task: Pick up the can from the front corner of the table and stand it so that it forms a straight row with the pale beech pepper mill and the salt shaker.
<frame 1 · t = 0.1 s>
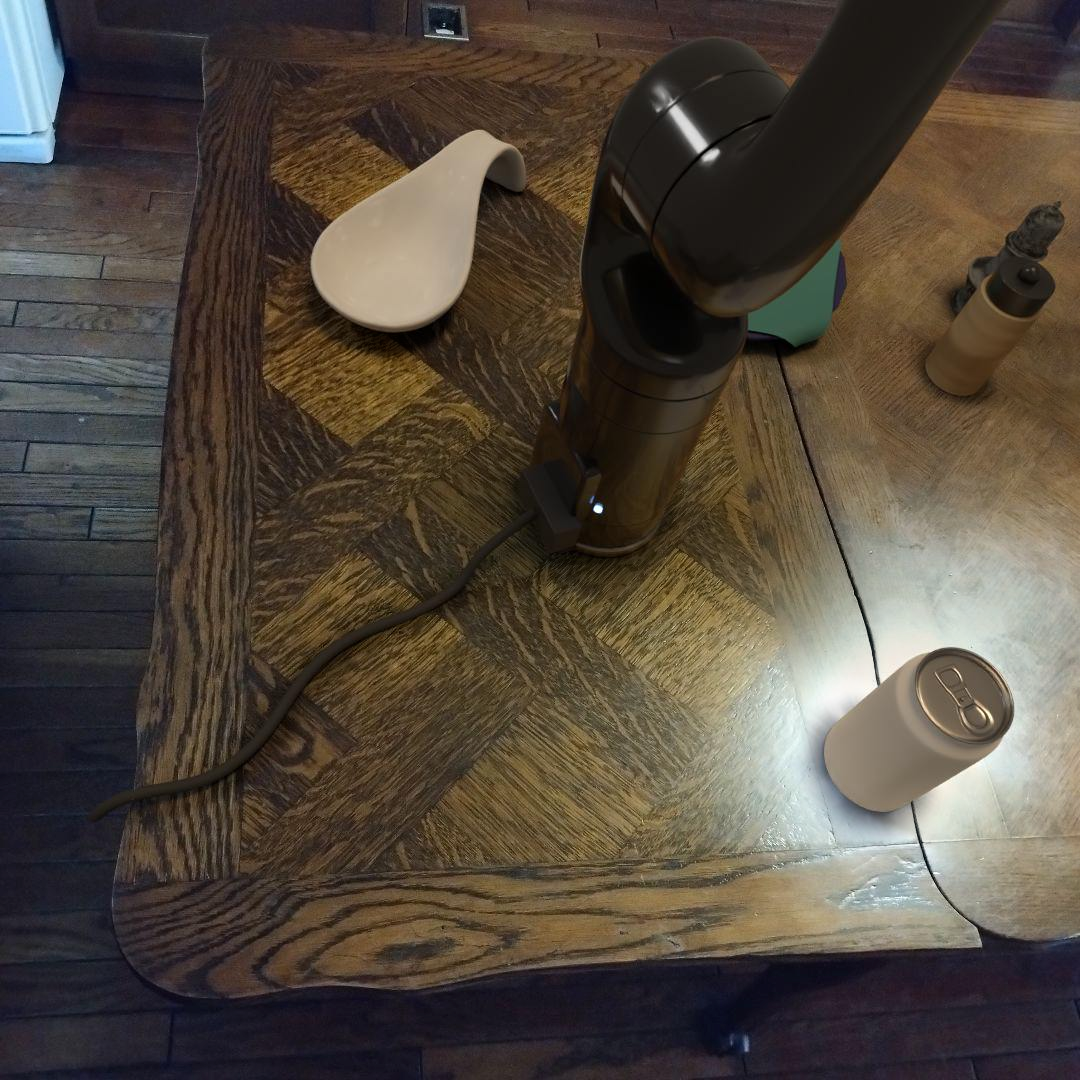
can: (867, 764, 64), on the table
spoon rest: (429, 257, 81), on the table
salt shaker: (978, 310, 88), on the table
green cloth: (736, 230, 88), on the table
pepper mill: (953, 373, 83), on the table
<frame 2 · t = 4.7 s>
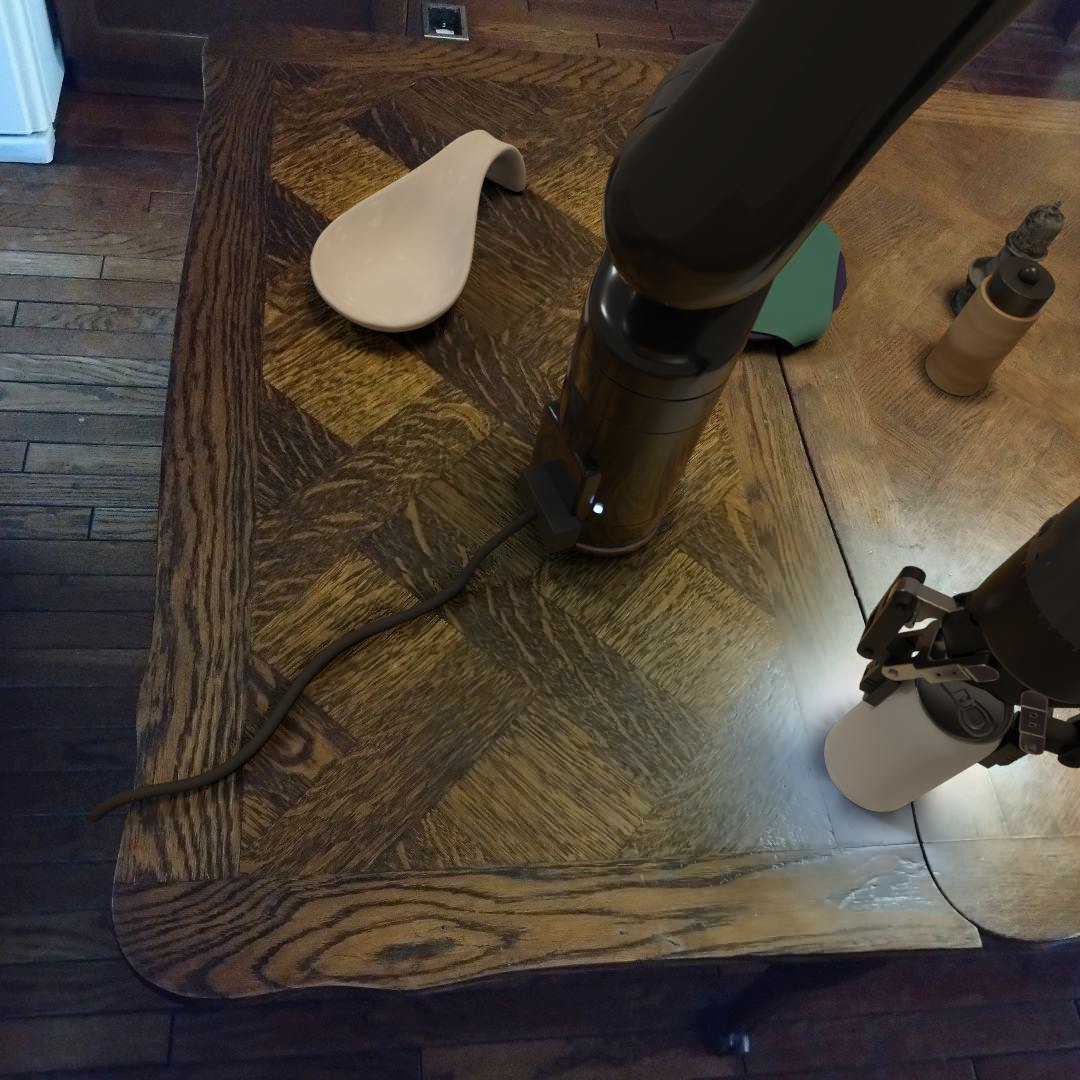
hand: (928, 720, 57), 8 cm above the table, tool pointing down, fingers closed on can, 6 cm apart
can: (867, 764, 64), on the table, touching gripper
everything else where it was.
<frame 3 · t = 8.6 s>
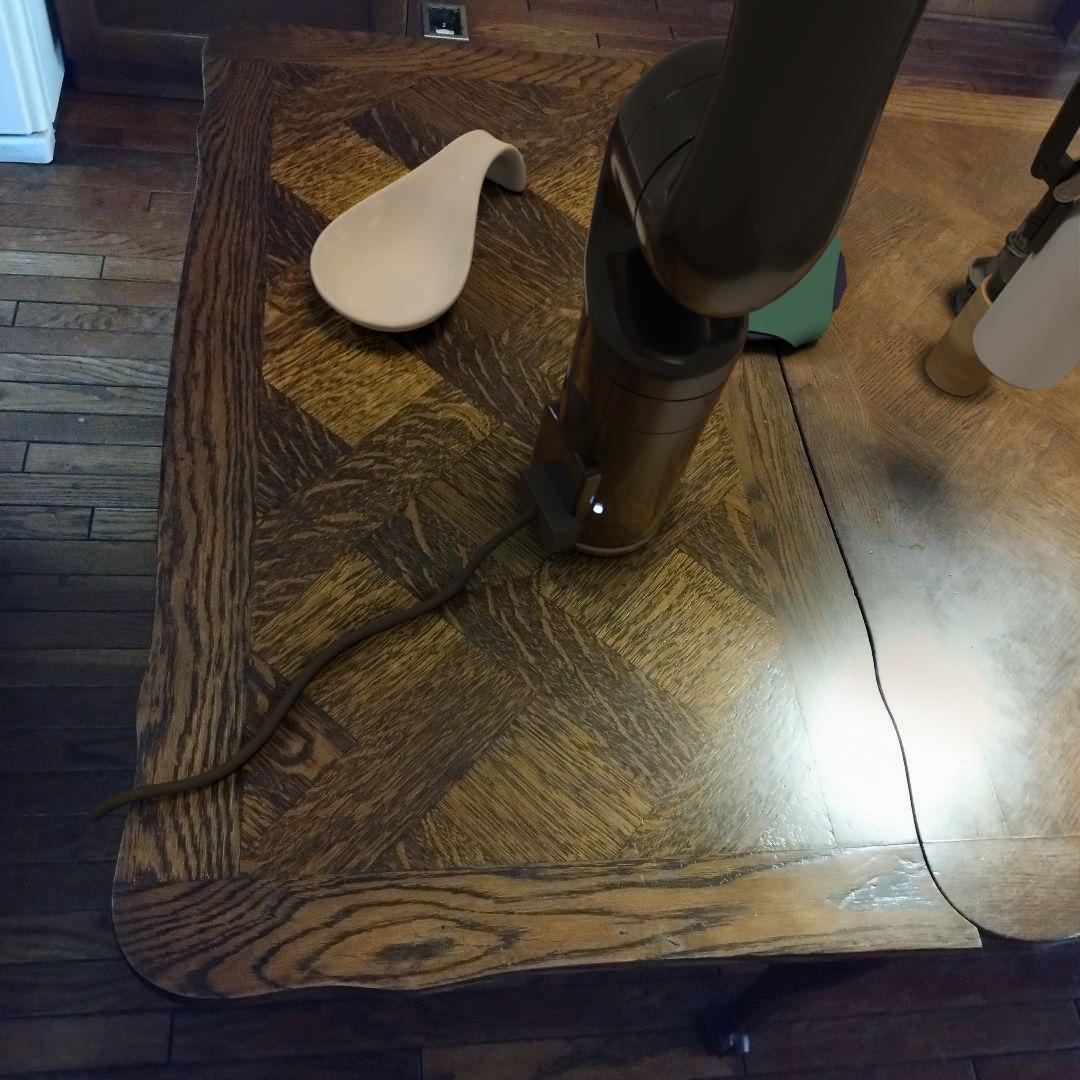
can: (1013, 358, 66), point 13 cm above the table, touching gripper
everything else where it was.
when the fingers open (8 cm above the table, at t = 12.3 s): can stays where it is, on the table.
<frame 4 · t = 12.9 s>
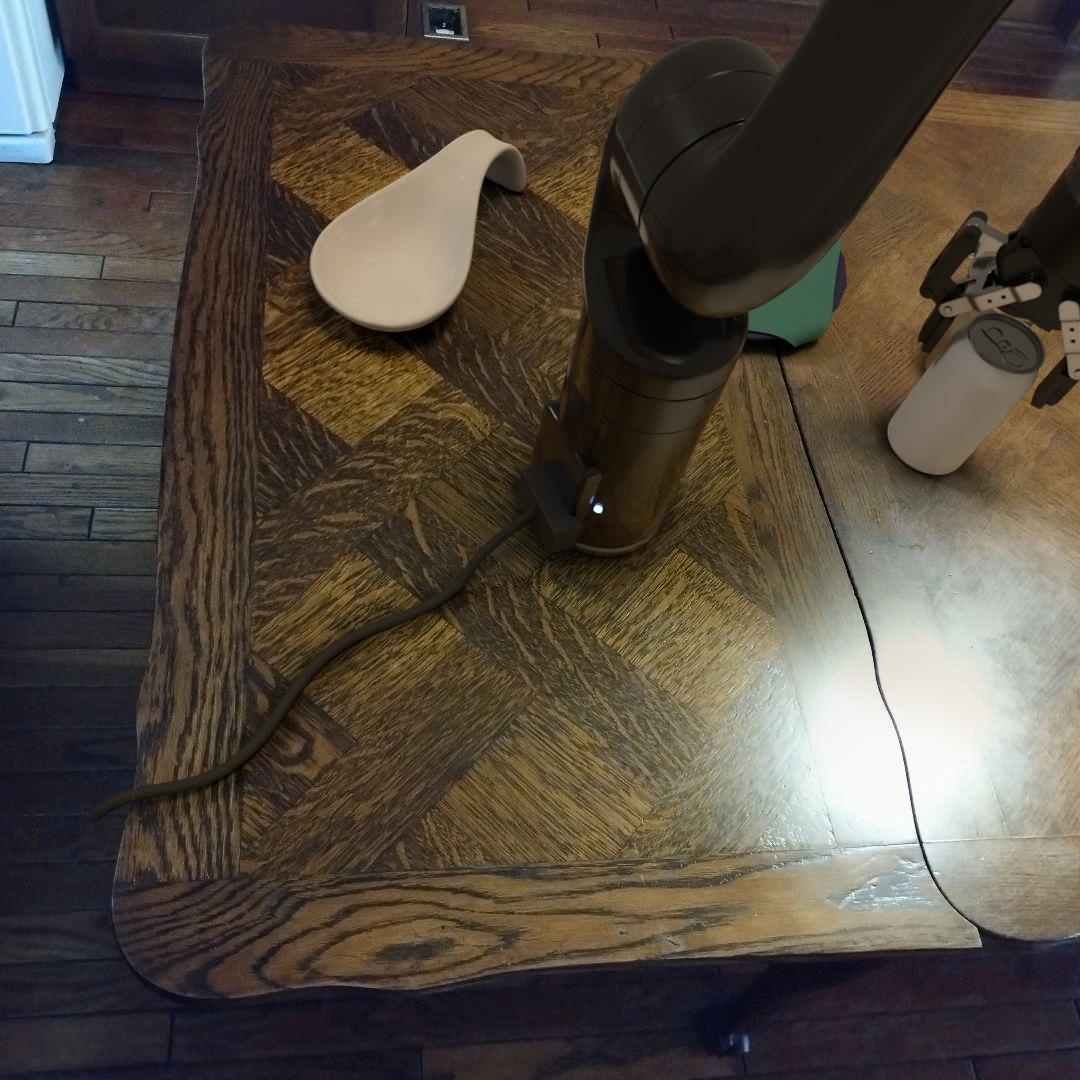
hand: (981, 372, 71), 9 cm above the table, tool pointing down, fingers open, 8 cm apart
can: (922, 445, 79), on the table
everything else where it was.
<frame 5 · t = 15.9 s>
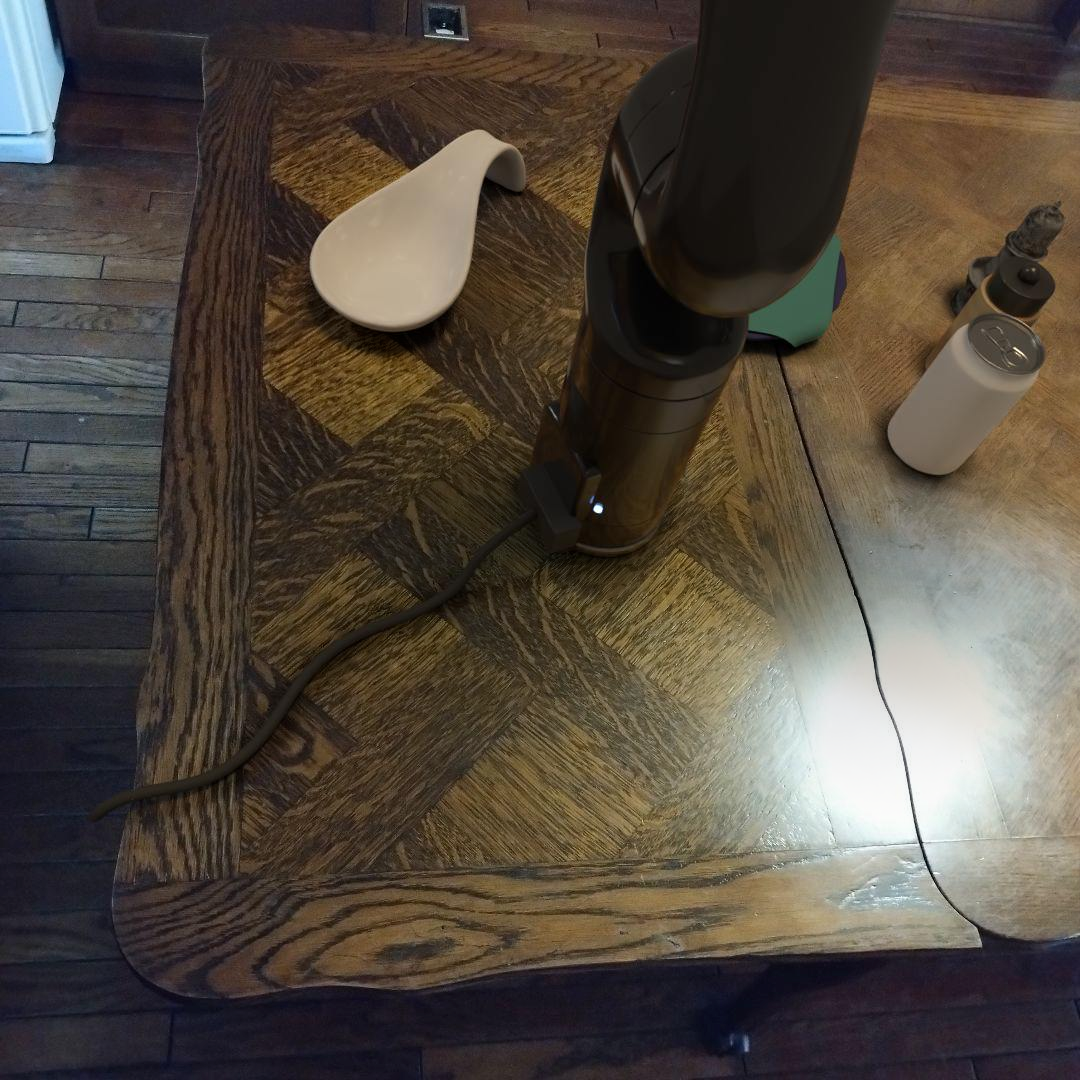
nothing on the table moved.
at the end: can 0.0 cm from the target spot on the table beside the salt shaker, on the table; can tilted 0°; pepper mill moved 0.0 cm from its start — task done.
